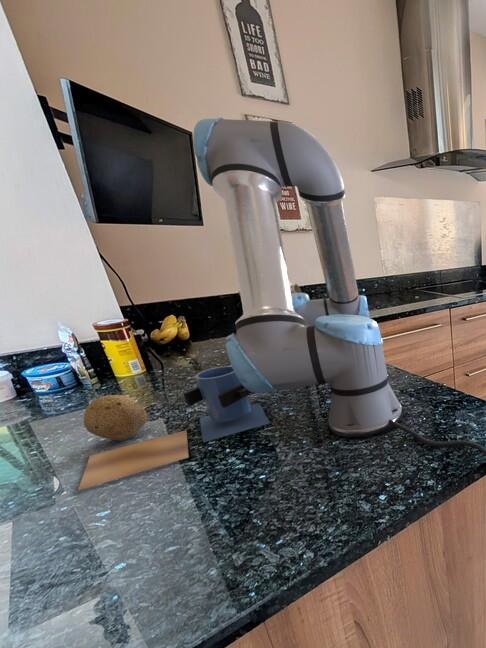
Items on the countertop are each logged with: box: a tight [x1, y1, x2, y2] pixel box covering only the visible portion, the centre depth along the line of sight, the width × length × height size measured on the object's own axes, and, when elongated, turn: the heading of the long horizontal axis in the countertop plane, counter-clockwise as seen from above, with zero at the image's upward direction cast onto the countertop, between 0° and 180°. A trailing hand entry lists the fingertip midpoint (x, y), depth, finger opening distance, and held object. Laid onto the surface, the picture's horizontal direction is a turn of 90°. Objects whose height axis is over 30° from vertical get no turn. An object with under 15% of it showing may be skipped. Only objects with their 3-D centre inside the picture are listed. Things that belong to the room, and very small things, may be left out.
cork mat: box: [77, 429, 190, 491], centre depth 75 cm, size 14×15×1 cm
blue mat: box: [199, 402, 270, 443], centre depth 88 cm, size 14×12×1 cm
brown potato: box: [83, 394, 148, 442], centre depth 80 cm, size 9×9×10 cm
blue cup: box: [194, 365, 251, 422], centre depth 85 cm, size 8×8×10 cm
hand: (204, 400), depth 81 cm, fingers closed on blue cup, 8 cm apart
